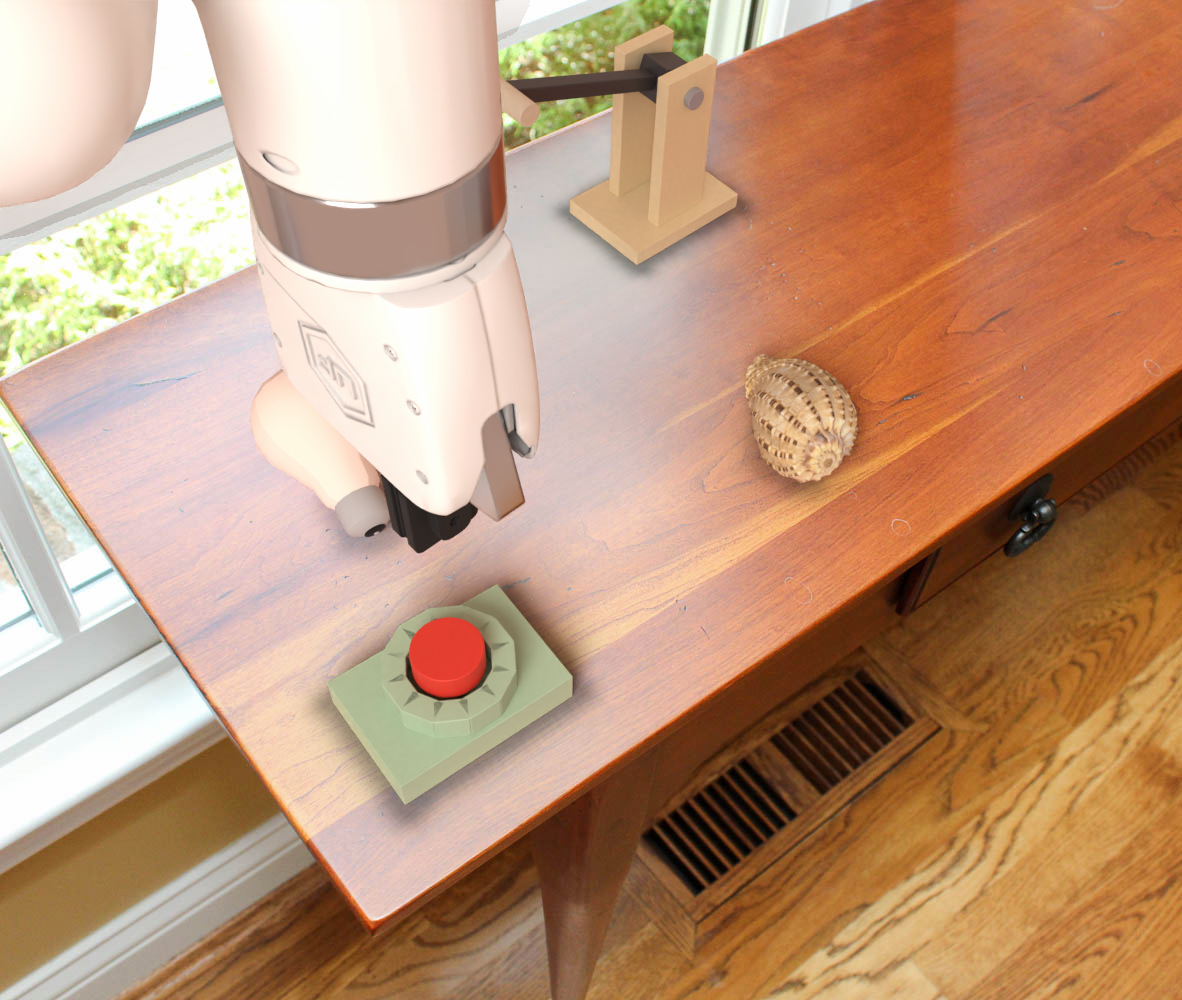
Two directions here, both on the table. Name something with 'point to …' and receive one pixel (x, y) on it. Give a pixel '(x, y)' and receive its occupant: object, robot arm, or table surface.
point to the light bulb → (317, 456)
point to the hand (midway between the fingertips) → (436, 523)
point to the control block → (458, 724)
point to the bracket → (657, 158)
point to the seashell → (799, 417)
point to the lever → (584, 86)
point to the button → (447, 657)
